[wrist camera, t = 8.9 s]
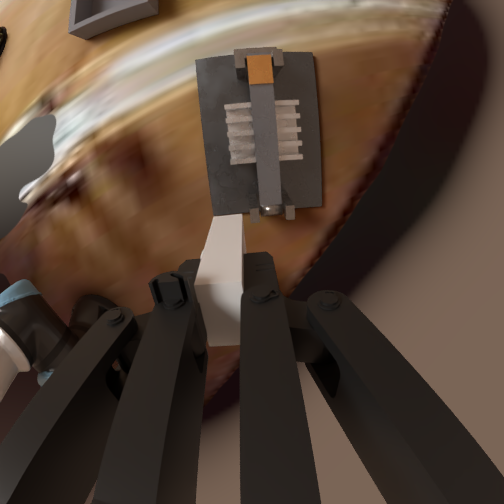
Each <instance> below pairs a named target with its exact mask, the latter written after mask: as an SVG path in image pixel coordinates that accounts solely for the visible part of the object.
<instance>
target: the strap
mask: <svg viewBox="0 0 504 504" xmlns="http://www.w3.org/2000/svg"><path fill="white" fill-rule="evenodd" d="M246 59H247V69H248V79H249V89H250V99H251V110H252V120H253V131H254V142H255V153H256V165H257V176H258V188H259V200H260V213H261V217H262V216H273V215H282V214H283V211H282V200H281V182H280V165H279V150H278V136H277V123H276V111H275V99H274V88H273V83H274V82H273V71H272V62H271V55H270V52H262V53H246Z"/></svg>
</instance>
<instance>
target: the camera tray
mask: <svg viewBox="0 0 504 504" xmlns="http://www.w3.org/2000/svg"><path fill="white" fill-rule="evenodd" d="M157 14H159V11H158V0H71V8H70V18H69V31H68V33H69V34H72V35H75V36H77V37H80V38H82V39H85V40H86V39H89V38H91V37H93V36H96V35H98V34H100V33H103V32H105V31H108V30H110V29H113V28H116V27H119V26H121V25H124V24H127V23H130V22H133V21H136V20H140V19H143V18H146V17H150V16H153V15H157Z"/></svg>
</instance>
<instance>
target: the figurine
mask: <svg viewBox="0 0 504 504" xmlns="http://www.w3.org/2000/svg"><path fill="white" fill-rule="evenodd" d="M5 44H6V28H5V27H0V56H1V55H2V52H3V50H4V48H5Z"/></svg>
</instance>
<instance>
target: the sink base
mask: <svg viewBox="0 0 504 504" xmlns="http://www.w3.org/2000/svg"><path fill="white" fill-rule="evenodd" d="M262 52H270V55H271V62H272V71H273V82H274V83H273V88H274V99H275V111H276V123H277V136H278V150H279V165H280V182H281V200H282V211H283V214H284V216H285V218H286V220H293V219H295V208H304V207H319V206H322V178H321V149H320V130H319V115H318V102H317V91H316V80H315V71H314V62H313V54H312V52H282V49H277V48H276V47H263V48H246V49H235V50H234V55H227V56H218V57H211V58H204V59H198V60H195V62H196V73H197V83H198V93H199V103H200V112H201V121H202V130H203V139H204V147H205V155H206V163H207V171H208V179H209V186H210V193H211V201H212V208H213V215H214V216H216V215H226V214H235V213H246V212H250V219H251V223H258V222H260V219H259V211H260V200H259V188H258V176H257V165H256V153H255V142H254V131H253V120H252V110H251V99H250V89H249V79H248V69H247V59H246V53H262Z"/></svg>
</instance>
